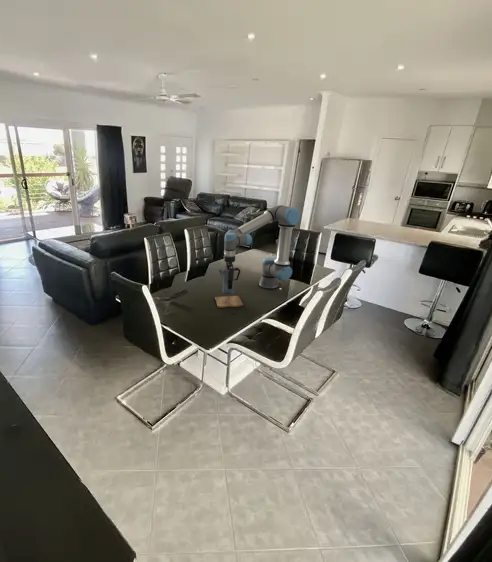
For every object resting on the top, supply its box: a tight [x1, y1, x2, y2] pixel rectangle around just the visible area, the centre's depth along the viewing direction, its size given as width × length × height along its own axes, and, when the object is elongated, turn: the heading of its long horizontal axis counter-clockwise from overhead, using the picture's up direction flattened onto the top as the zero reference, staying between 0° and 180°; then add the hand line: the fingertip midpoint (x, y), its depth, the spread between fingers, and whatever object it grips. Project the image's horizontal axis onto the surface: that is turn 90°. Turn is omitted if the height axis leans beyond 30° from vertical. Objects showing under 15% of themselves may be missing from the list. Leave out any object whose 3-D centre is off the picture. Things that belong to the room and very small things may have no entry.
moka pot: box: [217, 265, 241, 295], centre depth 226 cm, size 10×15×20 cm, turn 95°
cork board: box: [214, 295, 244, 309], centre depth 232 cm, size 18×16×1 cm
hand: (229, 286), depth 228 cm, fingers closed on moka pot, 8 cm apart
